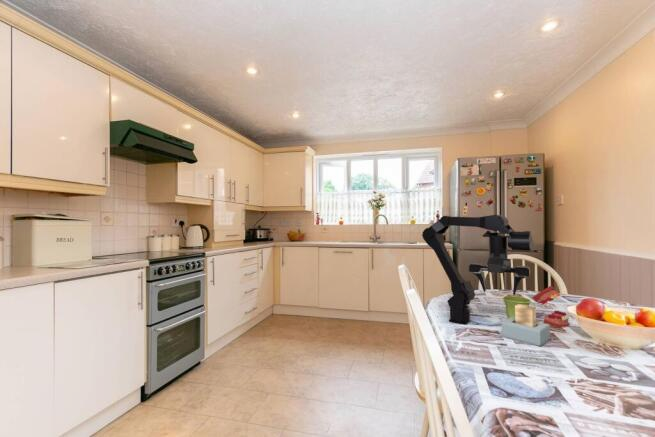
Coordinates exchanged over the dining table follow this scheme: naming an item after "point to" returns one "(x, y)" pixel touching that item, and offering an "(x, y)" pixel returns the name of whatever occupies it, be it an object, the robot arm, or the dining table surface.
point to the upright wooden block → (525, 315)
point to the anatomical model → (557, 317)
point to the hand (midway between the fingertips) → (499, 293)
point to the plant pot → (512, 301)
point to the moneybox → (526, 332)
